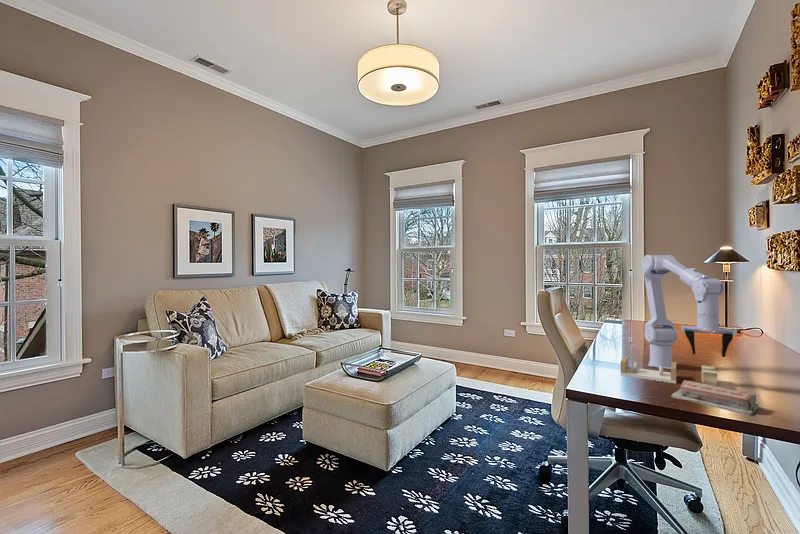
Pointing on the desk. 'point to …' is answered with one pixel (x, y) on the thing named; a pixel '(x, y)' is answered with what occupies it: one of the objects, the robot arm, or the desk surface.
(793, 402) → the desk surface
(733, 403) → the packaged product
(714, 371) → the shelf board
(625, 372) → the wooden peg tray
